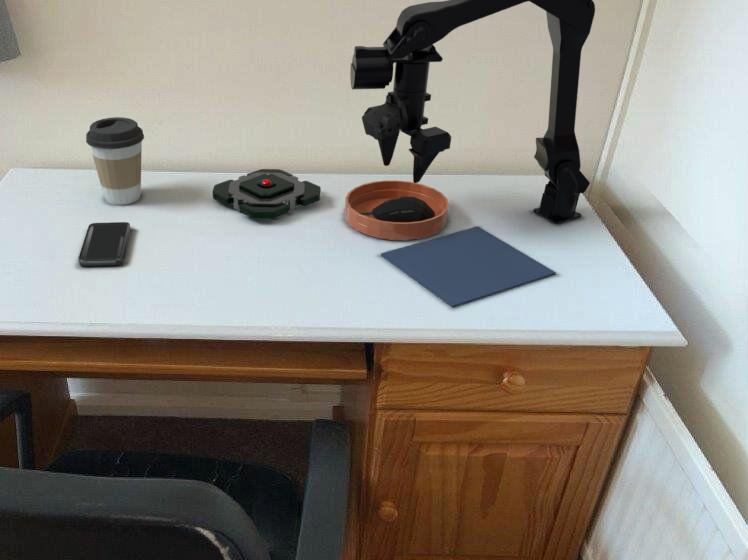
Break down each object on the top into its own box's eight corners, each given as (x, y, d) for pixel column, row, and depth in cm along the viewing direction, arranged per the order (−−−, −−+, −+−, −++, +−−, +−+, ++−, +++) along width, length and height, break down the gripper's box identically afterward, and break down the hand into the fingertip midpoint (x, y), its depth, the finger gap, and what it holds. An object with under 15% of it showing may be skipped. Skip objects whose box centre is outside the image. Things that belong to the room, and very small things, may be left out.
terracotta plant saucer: (406, 190, 159) (407, 173, 157) (467, 226, 146) (470, 209, 143) (325, 209, 152) (326, 192, 150) (382, 250, 139) (384, 232, 137)
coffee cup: (121, 182, 165) (112, 111, 156) (162, 194, 159) (155, 122, 150) (83, 201, 158) (71, 128, 148) (123, 214, 152) (114, 139, 143)
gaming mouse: (357, 207, 152) (358, 188, 150) (433, 211, 150) (436, 192, 148) (356, 222, 147) (357, 202, 145) (434, 226, 146) (437, 206, 143)
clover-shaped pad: (204, 200, 157) (203, 178, 154) (270, 176, 166) (270, 155, 163) (262, 229, 146) (261, 207, 143) (329, 202, 155) (330, 180, 152)
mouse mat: (477, 228, 145) (477, 226, 145) (555, 274, 131) (556, 272, 131) (380, 255, 137) (380, 253, 137) (452, 307, 123) (452, 305, 123)
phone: (77, 261, 135) (89, 222, 147) (78, 267, 135) (90, 228, 147) (122, 260, 135) (131, 221, 147) (123, 265, 136) (131, 227, 147)
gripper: (341, 80, 137) (337, 165, 147) (404, 110, 124) (395, 201, 134) (392, 71, 141) (385, 154, 151) (459, 99, 128) (446, 188, 138)
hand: (401, 173), depth 143 cm, fingers open, 9 cm apart
